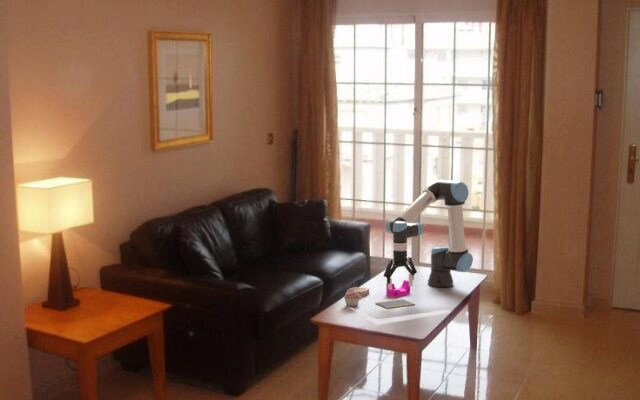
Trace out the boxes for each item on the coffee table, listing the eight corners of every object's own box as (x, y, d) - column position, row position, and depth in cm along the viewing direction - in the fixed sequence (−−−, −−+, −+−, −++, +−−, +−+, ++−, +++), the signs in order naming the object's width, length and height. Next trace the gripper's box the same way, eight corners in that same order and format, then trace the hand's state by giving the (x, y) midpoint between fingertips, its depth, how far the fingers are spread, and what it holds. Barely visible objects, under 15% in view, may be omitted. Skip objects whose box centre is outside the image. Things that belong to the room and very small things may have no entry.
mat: (402, 300, 440) (402, 299, 440) (414, 304, 429) (414, 303, 429) (375, 303, 431) (375, 302, 431) (386, 308, 421) (386, 307, 421)
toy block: (393, 298, 446) (393, 285, 445) (386, 296, 451) (386, 283, 450) (413, 294, 454) (413, 281, 453) (405, 292, 459) (406, 279, 458)
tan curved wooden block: (346, 290, 448) (360, 291, 443) (355, 286, 456) (369, 288, 451) (346, 297, 448) (360, 299, 443) (355, 293, 457) (369, 295, 452)
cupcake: (357, 308, 422) (357, 290, 421) (341, 306, 425) (341, 288, 424) (362, 304, 431) (362, 286, 430) (346, 302, 434) (346, 285, 433)
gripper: (415, 246, 437) (415, 283, 440) (377, 251, 426) (377, 289, 429) (422, 248, 430) (423, 286, 433) (384, 253, 419) (384, 292, 422)
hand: (400, 287), depth 431 cm, fingers open, 13 cm apart
